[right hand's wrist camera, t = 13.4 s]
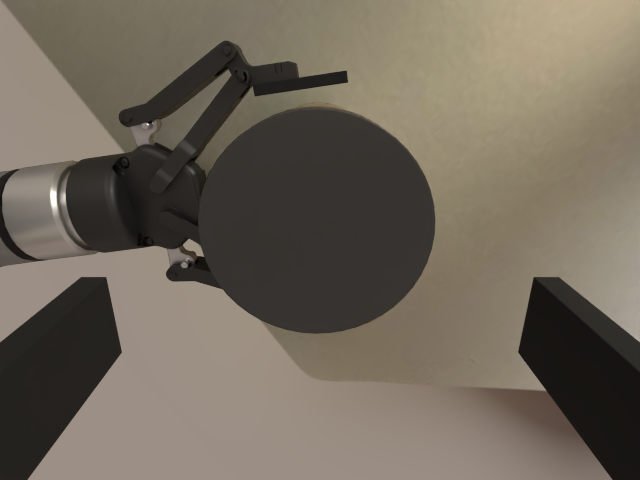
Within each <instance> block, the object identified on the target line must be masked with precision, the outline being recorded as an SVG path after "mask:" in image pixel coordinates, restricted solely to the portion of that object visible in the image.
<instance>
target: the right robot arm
mask: <svg viewBox="0 0 640 480" xmlns="http://www.w3.org/2000/svg"><path fill="white" fill-rule="evenodd" d="M121 353H122V351H121V346H120V341H119V337H118V332H117V327H116V322H115V317H114V312H113V308H112V303H111V298H110V293H109V289H108V284H107V279H106V277H81V278H80V279H78V280H77V281H76V282H75V283H73V284H72V285H71V286H70V287H68V288H67V289H66V290H65V291H64V292H62V293H61V294H60V295H59V296H57V297H56V298H55V299H54V300H52V301H51V302H50V303H49V304H47V305H46V306H45V307H44V308H42V309H41V310H40V311H39V312H37V313H36V314H35V315H34V316H32V317H31V318H30V319H29V320H27V321H26V322H25V323H24V324H23V325H21V326H20V327H19V328H18V329H16V330H15V331H14V332H13V333H11V334H10V335H9V336H8V337H6V338H5V339H4V340H3V341H1V342H0V480H28V478H29V477H30V475H31V474H32V473H33V471H34V470H35V469H36V467H37V466H38V465H39V463H40V462H41V461H42V459H43V458H44V457H45V455H46V454H47V452H48V451H49V450H50V448H51V447H52V446H53V444H54V443H55V442H56V440H57V439H58V438H59V436H60V435H61V434H62V432H63V431H64V430H65V428H66V427H67V425H68V424H69V423H70V422H71V420H72V419H73V417H74V416H75V415H76V413H77V412H78V411H79V409H80V408H81V407H82V405H83V404H84V403H85V401H86V400H87V399H88V397H89V396H90V395H91V393H92V392H93V390H94V389H95V388H96V386H97V385H98V384H99V382H100V381H101V380H102V378H103V377H104V376H105V374H106V373H107V371H108V370H109V369H110V368H111V366H112V365H113V363H114V362H115V361H116V359H117V358H118V357H119V355H120V354H121ZM518 353H519V354H520V355H521V357H522V358H523V359H524V361H525V362H526V364H527V365H528V366H529V368H530V369H531V370H532V372H533V373H534V374H535V376H536V377H537V378H538V380H539V381H540V382H541V384H542V385H543V386H544V388H545V389H546V390H547V392H548V393H549V395H550V396H551V397H552V399H553V400H554V401H555V402H556V404H557V405H558V407H559V408H560V409H561V411H562V412H563V413H564V415H565V416H566V417H567V419H568V420H569V422H570V423H571V424H572V426H573V427H574V428H575V430H576V431H577V432H578V434H579V435H580V436H581V438H582V439H583V440H584V442H585V443H586V444H587V446H588V447H589V448H590V450H591V451H592V453H593V454H594V455H595V457H596V458H597V459H598V461H599V462H600V463H601V465H602V466H603V467H604V469H605V470H606V471H607V473H608V474H609V475H610V477H611V478H612V479H613V480H640V342H639V341H637V340H636V339H635V338H634V337H632V336H631V335H630V334H629V333H627V332H626V331H625V330H624V329H622V328H621V327H620V326H619V325H617V324H616V323H615V322H614V321H613V320H611V319H610V318H609V317H608V316H606V315H605V314H604V313H603V312H601V311H600V310H599V309H598V308H596V307H595V306H594V305H593V304H591V303H590V302H589V301H588V300H586V299H585V298H584V297H583V296H581V295H580V294H579V293H578V292H576V291H575V290H574V289H573V288H572V287H570V286H569V285H568V284H567V283H565V282H564V281H563V280H562V279H560V278H559V277H534V279H533V284H532V288H531V293H530V298H529V303H528V308H527V312H526V317H525V322H524V327H523V332H522V336H521V341H520V346H519V351H518Z"/></svg>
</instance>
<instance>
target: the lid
mask: <svg viewBox="0 0 640 480" xmlns="http://www.w3.org/2000/svg"><path fill="white" fill-rule="evenodd" d="M198 231H199V237H200V243H201V247H202V251H203V254H204V257H205V260H206V262H207V264H208V266H209V269H210V271H211V273H212V274H213V276H214V278H215V279H216V281H217V282H218V284H219V285H220V286H221V288H222V289H223V290H224V291H225V292H226V294H227V295H228V296H229V297H230V298H231V299H232V300H233V301H234V302H235V303H236V304H238V305H239V306H240V307H241V308H243V309H244V310H246V311H247V312H248V313H250V314H251V315H253V316H255V317H256V318H258V319H260V320H262V321H264V322H266V323H269V324H271V325H273V326H276V327H280V328H283V329H286V330H291V331H296V332H302V333H332V332H338V331H344V330H348V329H351V328H355V327H358V326H360V325H363V324H365V323H368V322H370V321H372V320H374V319H376V318H378V317H379V316H381V315H383V314H384V313H386V312H387V311H389V310H390V309H391V308H393V307H394V306H395V305H396V304H397V303H398V302H400V301H401V300H402V299H403V298H404V297H405V296H406V295H407V293H408V292H409V291H410V290H411V289H412V288H413V286H414V285H415V283H416V282H417V280H418V279H419V277H420V276H421V274H422V272H423V270H424V268H425V266H426V264H427V261H428V258H429V255H430V252H431V249H432V245H433V240H434V234H435V211H434V203H433V199H432V194H431V190H430V188H429V185H428V182H427V180H426V177H425V175H424V173H423V171H422V170H421V168H420V166H419V164H418V163H417V161H416V160H415V159H414V157H413V156H412V155H411V153H410V152H409V151H408V149H407V148H406V147H405V146H404V145H403V144H402V143H400V142H399V141H398V140H397V139H396V138H395V137H394V136H393V135H391V134H390V133H388V132H387V131H386V130H384V129H383V128H382V127H380V126H379V125H377V124H376V123H374V122H372V121H370V120H369V119H367V118H365V117H363V116H361V115H358V114H355V113H353V112H350V111H346V110H342V109H338V108H332V107H320V106H315V107H301V108H296V109H291V110H287V111H284V112H281V113H278V114H275V115H273V116H271V117H269V118H267V119H265V120H263V121H261V122H259V123H257V124H256V125H254V126H253V127H251V128H250V129H248V130H247V131H245V132H244V133H243V134H241V135H240V136H239V137H237V138H236V139H235V140H234V141H233V142H232V143H231V144H230V145H229V146H228V147H227V148H226V149H225V150H224V152H223V153H222V154H221V155H220V157H219V158H218V159H217V161H216V162H215V164H214V166H213V167H212V169H211V171H210V173H209V175H208V177H207V180H206V182H205V184H204V187H203V191H202V195H201V198H200V203H199V212H198Z"/></svg>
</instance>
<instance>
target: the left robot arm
mask: <svg viewBox="0 0 640 480" xmlns="http://www.w3.org/2000/svg"><path fill="white" fill-rule="evenodd" d="M228 69H229V71H230V72H231V74H232V76H231V77H230V78H229V80H228V81H227V82H226V84H225V85H224V86H223V88H222V89H221V90H220V92H219V93H218V94H217V96H216V97H215V98H214V100H213V101H212V102H211V104H210V105H209V106H208V108H207V109H206V110H205V112H204V113H203V114H202V115H201V117H200V118H199V119H198V121H197V122H196V123H195V125H194V126H193V127H192V129H191V130H190V131H189V133H188V134H187V135H186V137H185V138H184V139H183V140H182V141H181V142H180V143H179V144H178V145H177V146H176V148H175V149H174V150H173V151H172V150H170V149H168V148H167V147H165V146H163V145H161V144H158V143H155V142H154V134H155V133H156V132H158V131H159V130H160V129H161V127H162V124H161V120H160V119H162V118H165V117H167V116H169V115H170V114H172V113H173V112H175V111H176V110H177V109H179V108H180V107H181V106H182V105H184V104H185V103H186V102H187V101H189V100H190V99H191V98H192V97H194V96H195V95H196V94H198V93H199V92H200V91H201V90H203V89H204V88H205V87H206V86H208V85H209V84H210V83H212V82H213V81H214V80H215V79H217V78H218V77H219V76H220V75H222V74H223V73H224V72H225V71H227V70H228ZM347 82H348V79H347V71H341V72H334V73H328V74H321V75H314V76H308V77H301V78H299V74H298V67H297V64H296V63H293V62H289V61H287V62H281V63H275V64H268V65H261V66H251V65H250V64H248V62H247V61H246V59H245V57H244V55H243V53H242V50H241V48H240V47H239V46H238V45H236V44H234V43H232V42H229V41H223V42H221V43H220V44H219V45H218V46H216V47H215V48H214V49H213V50H211V51H210V52H209V53H208V54H206V55H205V56H204V57H203V58H202V59H200V60H199V61H198V62H197V63H195V64H194V65H193V66H192V67H190V68H189V69H188V70H187V71H185V72H184V73H183V74H182V75H180V76H179V77H178V78H177V79H176V80H174V81H173V82H172V83H171V84H169V85H168V86H167V87H166V88H164V89H163V90H162V91H161V92H159V93H158V94H157V95H156V96H155V97H153V98H152V99H151V100H150V101H148V102H147V103H146V104H143V105H139V106H136V107H132V108H128V109H125V110H123V111H121V112H120V114H119V121H120V122H121V124H123V125H124V126H126V127H130V130H131V132H132V135H133V137H134V139H135V142H136V144H137V148H136V149H135V150H134V151H132V152H129V153H123V154H116V155H109V156H102V157H95V158H88V159H83V160H81V161H79V162H76V161H67V162H60V163H53V164H46V165H40V166H33V167H26V168H22V169H16V170H12V171H5V172H0V267H2V266H7V265H13V264H21V263H28V262H35V261H43V260H50V259H58V258H66V257H75V256H83V255H90V254H96V253H97V252H105V253H106V252H113V251H121V250H129V249H136V248H144V247H149V246H160V247H164V248H166V249H167V250H168V256H169V262H170V268H169V269H168V270H167V272H166V276H167V278H168V279H169V280H171V281H196V282H200V283H203V284H207V285H210V286H214V287H217V288H221V286H220V285H219V284H218V282H217V281H216V279H215V278H214V276H213V274H212V273H211V271H210V269H209V266H208V264H207V262H206V260H205V257H201V256H197V255H196V253H195V252H193V251H188V250H186V249H185V248H184V247H183V244H184V243H185V242H186V241H187V240H188V239H191V240H193V241H195V242H196V243H198V244H200V245H201V243H200V237H199V231H198V212H199V203H200V198H201V195H202V191H203V187H204V184H205V182H206V175H205V171H204V170H202V169H201V168H200V166H199V165H198V164H197V163H195V160H196V159H197V158H198V156H199V155H200V154H201V153H202V151H203V150H204V148H205V146H206V145H207V144H208V142H209V141H210V140H211V138H212V137H213V136H214V135H215V133H216V132H217V131H218V130H219V128H220V127H221V126H222V124H223V123H224V122H225V121H226V119H227V118H228V117H229V115H230V114H231V113H232V112H233V110H234V109H235V108H236V106H237V105H238V104H239V103H240V101H241V100H242V99H243V97H244V96H245V95H246V94H247V92H248V91H249V90H250V89H251V87H252V86H253V89H254V94H255V96H260V95H266V94H273V93H280V92H287V91H293V90H300V89H307V88H314V87H320V86H327V85H334V84H340V83H347ZM221 289H222V288H221Z"/></svg>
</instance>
